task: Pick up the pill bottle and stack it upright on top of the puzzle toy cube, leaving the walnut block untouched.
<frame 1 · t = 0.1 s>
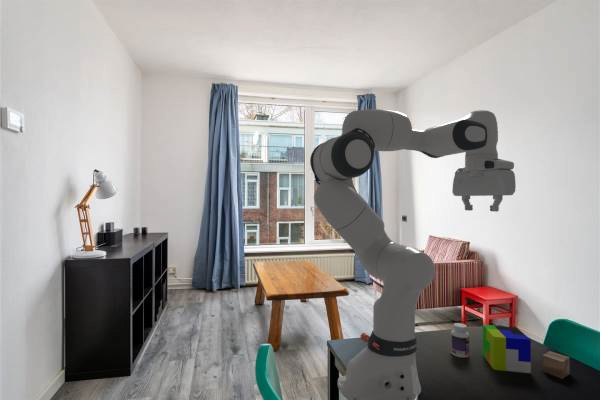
hand: (480, 210, 104), 48 cm above the table, fingers open, 8 cm apart
puzzle toy: (505, 364, 107), on the table
walnut block: (556, 373, 101), on the table
pill bottle: (460, 355, 113), on the table
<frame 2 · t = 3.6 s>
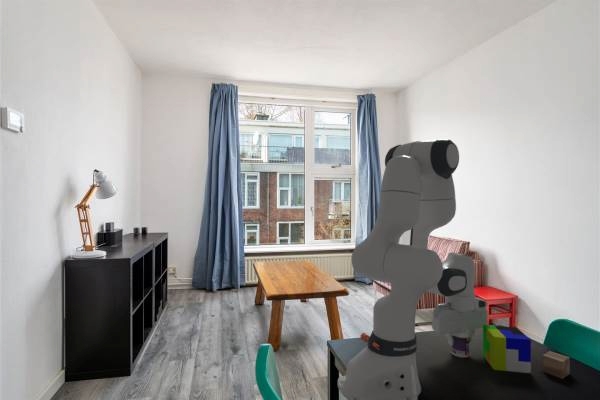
hand: (459, 343, 113), 4 cm above the table, fingers closed on pill bottle, 5 cm apart
pill bottle: (460, 354, 113), on the table, touching gripper
everything else where it was.
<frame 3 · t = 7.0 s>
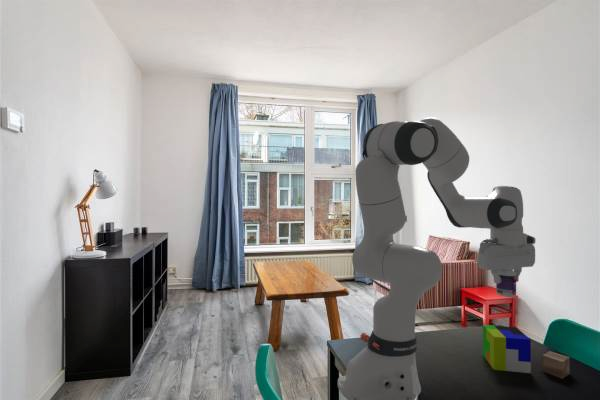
hand: (506, 282, 107), 25 cm above the table, fingers closed on pill bottle, 5 cm apart
pill bottle: (505, 295, 107), point 21 cm above the table, touching gripper
everything else where it was.
when the fingers open (15 cm above the table, at t = 9.3 s): pill bottle stays where it is, resting on puzzle toy.
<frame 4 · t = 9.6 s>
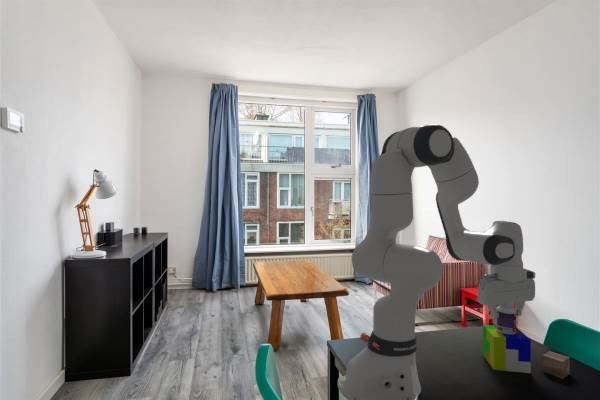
hand: (506, 316, 107), 15 cm above the table, fingers open, 8 cm apart
puzzle toy: (505, 364, 107), on the table, touching pill bottle
pill bottle: (506, 332, 107), point 10 cm above the table, touching puzzle toy
everything else where it was.
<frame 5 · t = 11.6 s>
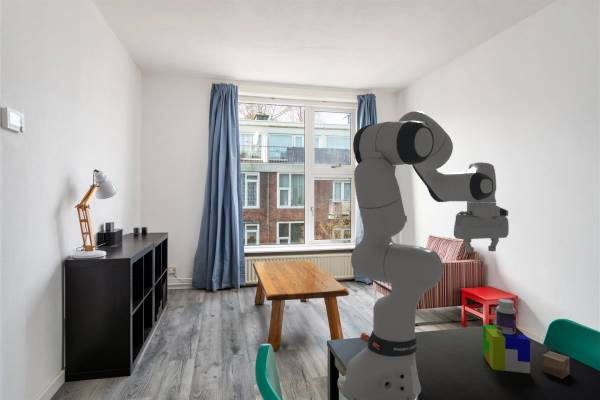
hand: (481, 251, 116), 34 cm above the table, fingers open, 8 cm apart
nothing on the table moved.
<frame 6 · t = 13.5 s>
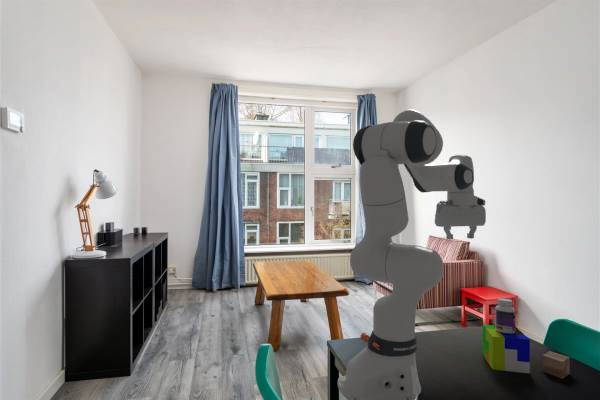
hand: (460, 238, 124), 37 cm above the table, fingers open, 8 cm apart
nothing on the table moved.
at the end: pill bottle inside the target area on the puzzle toy (0.2 cm from its centre), point 10.2 cm above the puzzle toy's base; pill bottle touching puzzle toy; pill bottle tilted 3° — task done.
